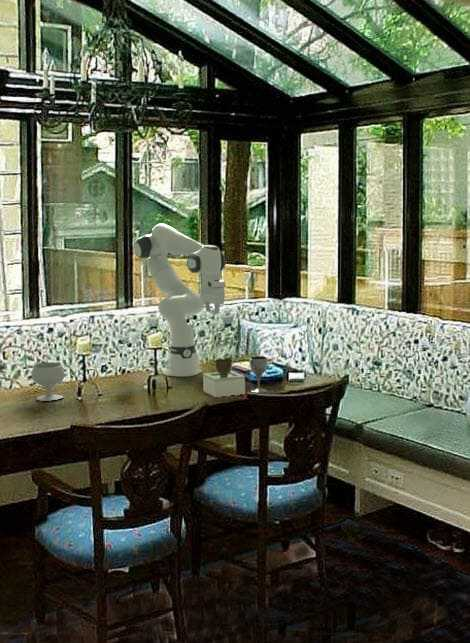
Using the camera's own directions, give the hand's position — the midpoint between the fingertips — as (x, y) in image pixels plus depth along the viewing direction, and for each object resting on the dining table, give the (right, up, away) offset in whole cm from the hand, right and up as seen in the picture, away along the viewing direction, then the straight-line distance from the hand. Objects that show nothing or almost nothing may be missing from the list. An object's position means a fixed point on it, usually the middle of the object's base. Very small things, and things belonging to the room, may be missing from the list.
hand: (212, 312), depth 398 cm
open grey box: (+5, -35, -6) cm, 36 cm away
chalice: (-70, -38, -12) cm, 81 cm away
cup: (+5, -29, -7) cm, 30 cm away
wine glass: (+21, -35, -3) cm, 41 cm away
